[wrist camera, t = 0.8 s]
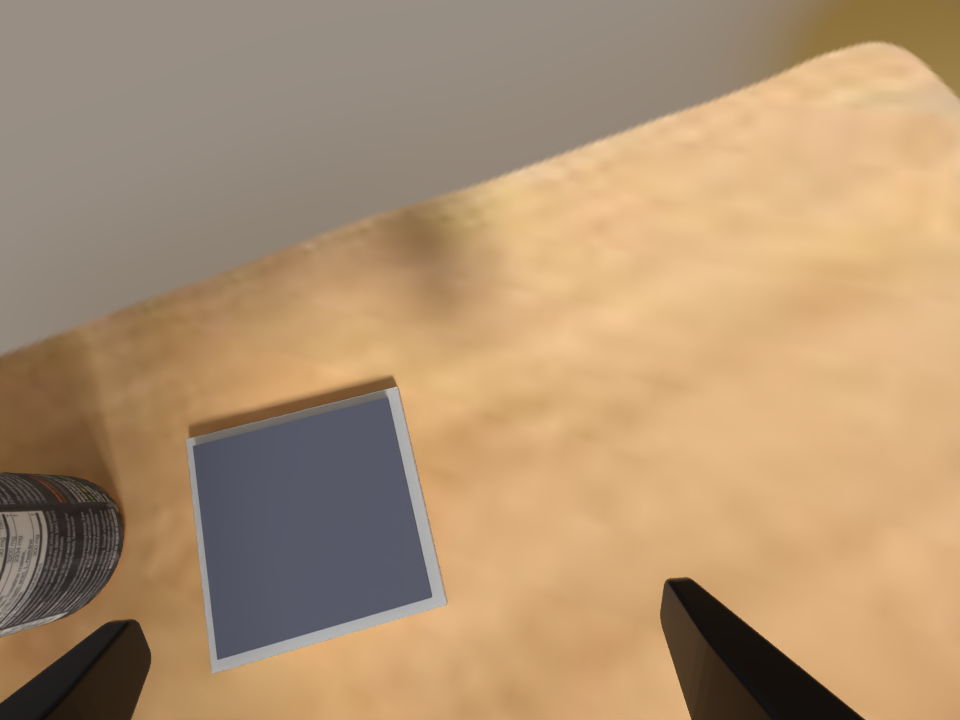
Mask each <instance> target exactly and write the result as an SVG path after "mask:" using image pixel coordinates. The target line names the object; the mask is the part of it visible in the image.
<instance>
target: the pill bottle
mask: <svg viewBox="0 0 960 720" xmlns="http://www.w3.org/2000/svg"><path fill="white" fill-rule="evenodd" d="M122 545H123V524H122V518H121V515H120V513H119V510H118V508H117V506H116V503H115V502H114V501H113V499H112V498H111V497H110V496H109V495H108V493H106V492H105V491H104V490H103V489H102V488H101V487H99V486H97V485H96V484H94V483H92V482H89V481H87V480H85V479H80V478H76V477H70V476H60V475H39V474H22V473H0V637H3V636H6V635H10V634H13V633H17V632H20V631H23V630H26V629H30V628H33V627H37V626H40V625H44V624H47V623H50V622H53V621H56V620H59V619H62V618H64V617H67V616H69V615H71V614H73V613H75V612H76V611H78V610H79V609H81V608H82V607H84V606H85V605H86V604H88V603H89V602H90V601H91V600H92V599H93V598H94V597H95V596H96V595H97V594H98V593H99V592H100V591H101V590H102V589H103V587H104V586H105V585H106V584H107V582H108V581H109V579H110V578H111V576H112V574H113V572H114V570H115V568H116V566H117V564H118V561H119V558H120V556H121V551H122Z"/></svg>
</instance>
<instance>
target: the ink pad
mask: <svg viewBox="0 0 960 720" xmlns="http://www.w3.org/2000/svg"><path fill="white" fill-rule="evenodd" d="M186 446H187V455H188V464H189V473H190V482H191V491H192V500H193V508H194V517H195V526H196V535H197V544H198V553H199V562H200V571H201V580H202V589H203V598H204V607H205V616H206V625H207V634H208V643H209V652H210V661H211V670H212V674H213V673H217V672H220V671H224V670H227V669H230V668H234V667H237V666H241V665H244V664H247V663H251V662H254V661H258V660H261V659H264V658H268V657H271V656H275V655H278V654H281V653H285V652H288V651H292V650H295V649H298V648H302V647H305V646H309V645H312V644H315V643H319V642H322V641H326V640H329V639H332V638H336V637H339V636H343V635H346V634H349V633H353V632H356V631H360V630H363V629H366V628H370V627H373V626H377V625H380V624H383V623H387V622H390V621H394V620H397V619H400V618H404V617H407V616H411V615H414V614H417V613H421V612H424V611H428V610H431V609H434V608H438V607H441V606H445V605H447V598H446V593H445V589H444V584H443V580H442V576H441V571H440V567H439V563H438V558H437V554H436V549H435V545H434V541H433V536H432V532H431V528H430V523H429V519H428V514H427V510H426V506H425V501H424V497H423V493H422V488H421V484H420V479H419V475H418V471H417V466H416V462H415V457H414V453H413V449H412V444H411V440H410V436H409V431H408V427H407V422H406V418H405V414H404V409H403V405H402V401H401V396H400V392H399V389H398V387H393V388H389V389H385V390H381V391H377V392H373V393H369V394H365V395H361V396H357V397H353V398H349V399H345V400H341V401H337V402H333V403H329V404H325V405H321V406H317V407H313V408H309V409H305V410H301V411H297V412H293V413H289V414H285V415H281V416H277V417H273V418H269V419H265V420H261V421H257V422H253V423H249V424H245V425H241V426H237V427H233V428H229V429H225V430H221V431H217V432H213V433H209V434H205V435H201V436H197V437H193V438H189V439H186Z"/></svg>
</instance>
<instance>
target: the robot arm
mask: <svg viewBox="0 0 960 720" xmlns="http://www.w3.org/2000/svg"><path fill="white" fill-rule="evenodd" d="M660 619H661V625H662V628H663V632H664V635H665V638H666V641H667V644H668V648H669V651H670V654H671V657H672V660H673V663H674V667H675V670H676V673H677V676H678V679H679V682H680V686H681V689H682V692H683V695H684V698H685V701H686V705H687V708H688V711H689V714H690V717H691V719H692V720H865V719H864V718H862V717H861V716H860V715H859V714H858V713H856V712H855V711H854V710H853V709H851V708H850V707H849V706H848V705H846V704H845V703H844V702H843V701H842V700H840V699H839V698H838V697H837V696H835V695H834V694H833V693H832V692H830V691H829V690H828V689H827V688H826V687H824V686H823V685H822V684H821V683H819V682H818V681H817V680H816V679H814V678H813V677H812V676H811V675H810V674H808V673H807V672H806V671H805V670H803V669H802V668H801V667H800V666H798V665H797V664H796V663H795V662H794V661H792V660H791V659H790V658H789V657H787V656H786V655H785V654H784V653H782V652H781V651H780V650H779V649H778V648H776V647H775V646H774V645H773V644H771V643H770V642H769V641H768V640H766V639H765V638H764V637H763V636H762V635H760V634H759V633H758V632H757V631H755V630H754V629H753V628H752V627H750V626H749V625H748V624H747V623H746V622H744V621H743V620H742V619H741V618H739V617H738V616H737V615H736V614H734V613H733V612H732V611H731V610H729V609H728V608H727V607H726V606H725V605H723V604H722V603H721V602H720V601H718V600H717V599H716V598H715V597H713V596H712V595H711V594H710V593H709V592H707V591H706V590H705V589H704V588H702V587H701V586H700V585H699V584H697V583H696V582H695V581H694V580H692V579H690V578H687V577H683V578H670V579H667V580H666V581H665V584H664V589H663V596H662V603H661V610H660ZM150 664H151V652H150V649H149V646H148V644H147V641H146V639H145V636H144V634H143V631H142V629H141V626H140V624H139V623H138V622H137V621H136V620H133V619H128V620H115V621H110V622H108V623H106V624H104V625H103V626H101V627H100V628H99V629H97V630H96V631H95V632H93V633H92V634H91V635H89V636H88V637H87V638H85V639H84V640H83V641H82V642H80V643H79V644H78V645H76V646H75V647H74V648H72V649H71V650H70V651H68V652H67V653H66V654H65V655H63V656H62V657H61V658H59V659H58V660H57V661H55V662H54V663H53V664H51V665H50V666H49V667H47V668H46V669H45V670H44V671H42V672H41V673H40V674H38V675H37V676H36V677H34V678H33V679H32V680H30V681H29V682H28V683H26V684H25V685H24V686H23V687H21V688H20V689H19V690H17V691H16V692H15V693H13V694H12V695H11V696H9V697H8V698H7V699H6V700H4V701H3V702H2V703H0V720H131V718H132V715H133V713H134V710H135V707H136V704H137V702H138V699H139V696H140V694H141V691H142V688H143V685H144V683H145V680H146V677H147V674H148V672H149V668H150Z"/></svg>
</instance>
